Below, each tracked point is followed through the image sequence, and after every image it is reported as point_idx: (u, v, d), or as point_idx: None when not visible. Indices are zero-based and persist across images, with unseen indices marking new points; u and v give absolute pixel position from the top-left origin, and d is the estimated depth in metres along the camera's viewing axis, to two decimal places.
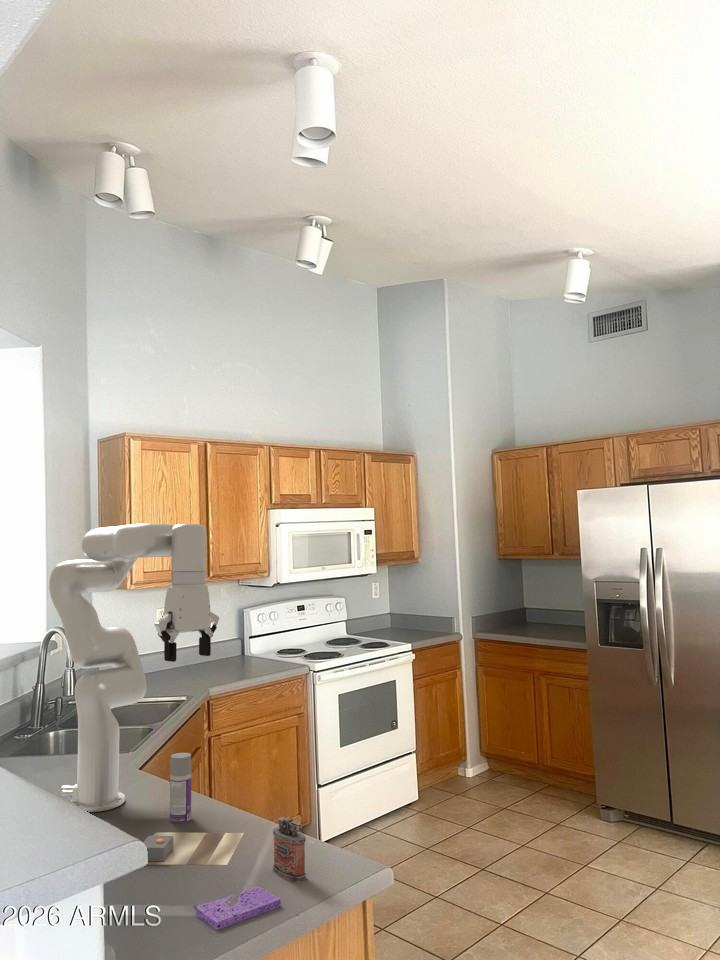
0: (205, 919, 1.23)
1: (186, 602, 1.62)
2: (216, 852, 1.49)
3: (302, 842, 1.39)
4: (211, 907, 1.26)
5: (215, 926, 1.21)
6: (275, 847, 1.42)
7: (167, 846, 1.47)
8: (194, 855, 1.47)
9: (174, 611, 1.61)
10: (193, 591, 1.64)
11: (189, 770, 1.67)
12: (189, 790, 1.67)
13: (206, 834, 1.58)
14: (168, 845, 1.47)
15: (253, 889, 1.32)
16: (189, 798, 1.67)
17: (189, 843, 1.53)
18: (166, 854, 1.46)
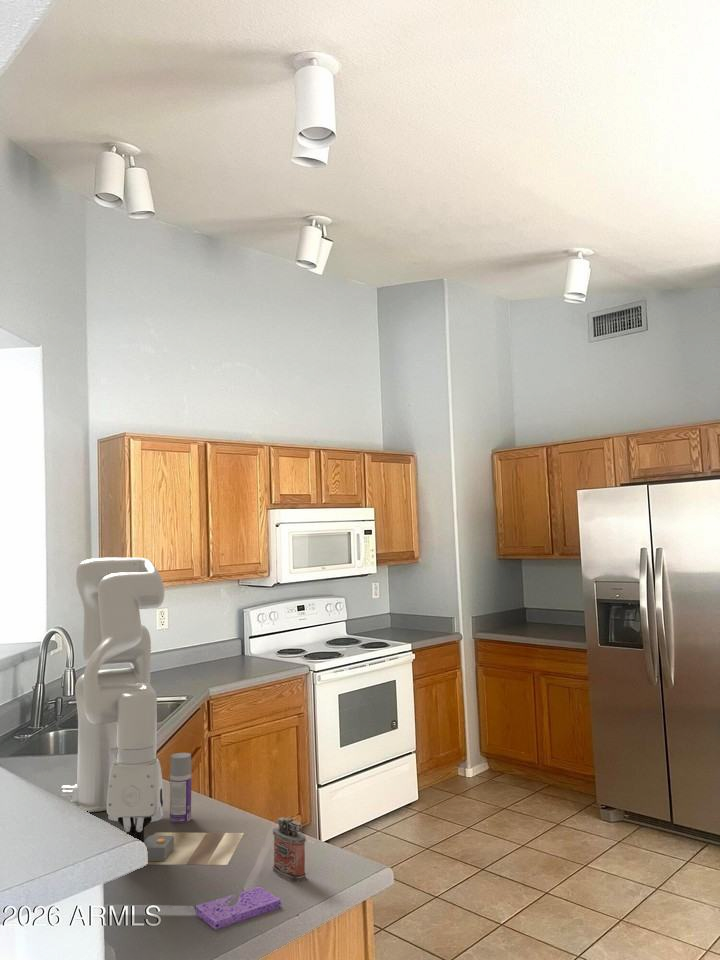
0: (204, 918, 1.24)
1: None
2: (216, 852, 1.49)
3: (302, 842, 1.39)
4: (211, 906, 1.26)
5: (213, 926, 1.21)
6: (275, 847, 1.42)
7: (168, 846, 1.47)
8: (194, 855, 1.47)
9: (162, 786, 1.50)
10: None
11: (189, 770, 1.67)
12: (189, 790, 1.67)
13: (206, 834, 1.58)
14: (169, 845, 1.47)
15: (254, 889, 1.32)
16: (189, 798, 1.67)
17: (189, 843, 1.53)
18: (167, 854, 1.46)
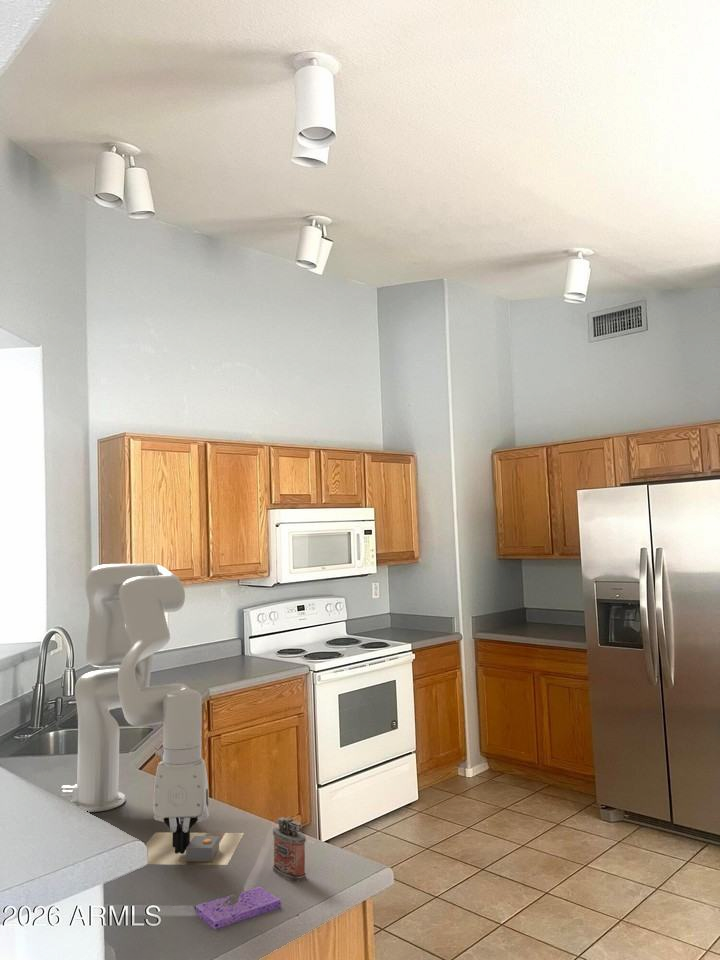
0: (204, 918, 1.24)
1: None
2: None
3: (302, 842, 1.39)
4: (211, 906, 1.26)
5: (213, 925, 1.21)
6: (275, 847, 1.42)
7: (214, 846, 1.46)
8: None
9: (207, 786, 1.49)
10: None
11: None
12: None
13: (206, 834, 1.58)
14: (215, 845, 1.47)
15: (255, 889, 1.32)
16: None
17: None
18: (213, 854, 1.45)
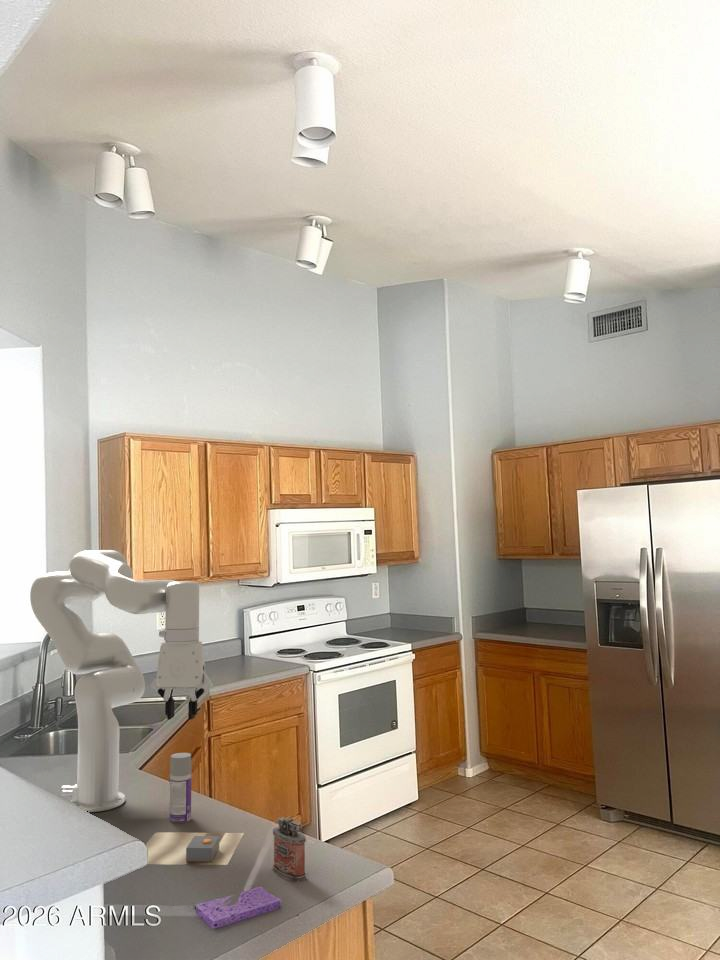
0: (203, 918, 1.24)
1: None
2: None
3: (302, 842, 1.39)
4: (211, 906, 1.26)
5: (212, 925, 1.21)
6: (275, 847, 1.42)
7: (214, 846, 1.46)
8: None
9: (204, 664, 1.71)
10: None
11: (189, 770, 1.67)
12: (189, 790, 1.67)
13: (206, 834, 1.58)
14: (215, 845, 1.47)
15: (255, 889, 1.32)
16: (189, 798, 1.67)
17: None
18: (213, 854, 1.45)
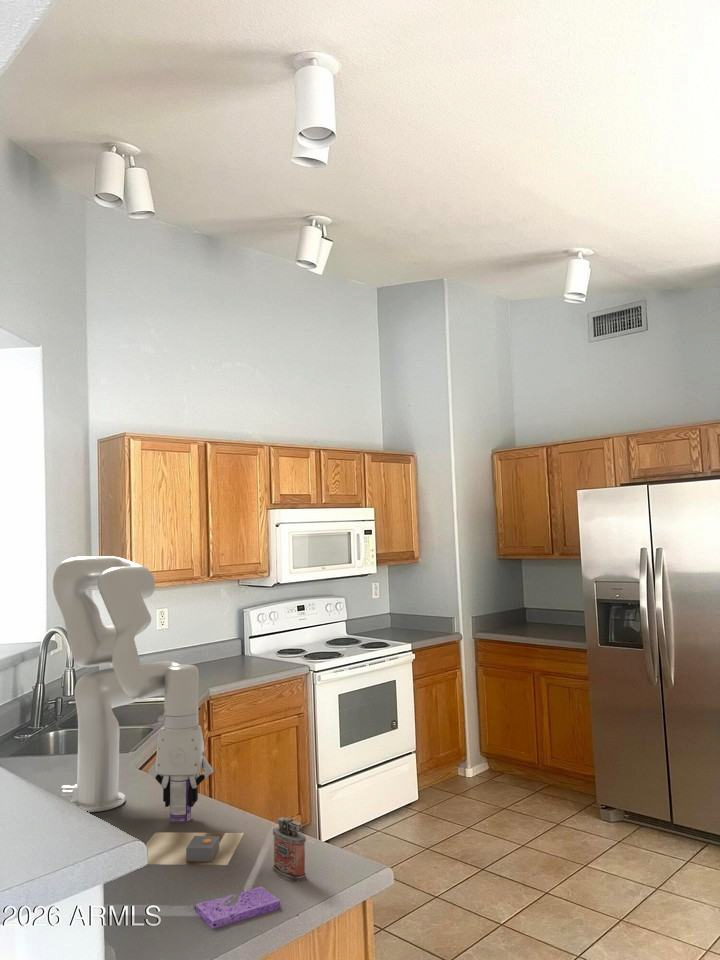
0: (203, 917, 1.24)
1: None
2: None
3: (302, 842, 1.39)
4: (210, 905, 1.26)
5: (211, 925, 1.21)
6: (275, 847, 1.42)
7: (214, 846, 1.46)
8: None
9: None
10: None
11: None
12: None
13: (206, 834, 1.58)
14: (215, 845, 1.47)
15: (256, 889, 1.32)
16: None
17: None
18: (213, 854, 1.45)
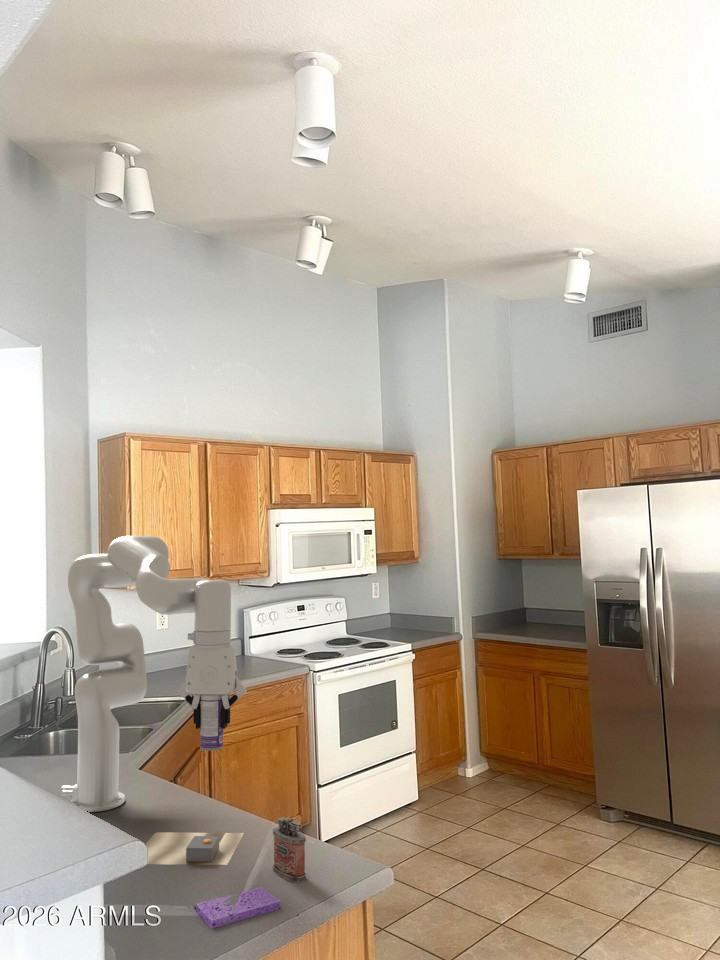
0: (203, 917, 1.24)
1: None
2: None
3: (302, 842, 1.39)
4: (210, 905, 1.26)
5: (210, 924, 1.22)
6: (275, 847, 1.42)
7: (214, 846, 1.46)
8: None
9: (236, 669, 1.59)
10: None
11: None
12: None
13: (206, 834, 1.58)
14: (215, 845, 1.47)
15: (256, 889, 1.32)
16: None
17: None
18: (213, 854, 1.45)
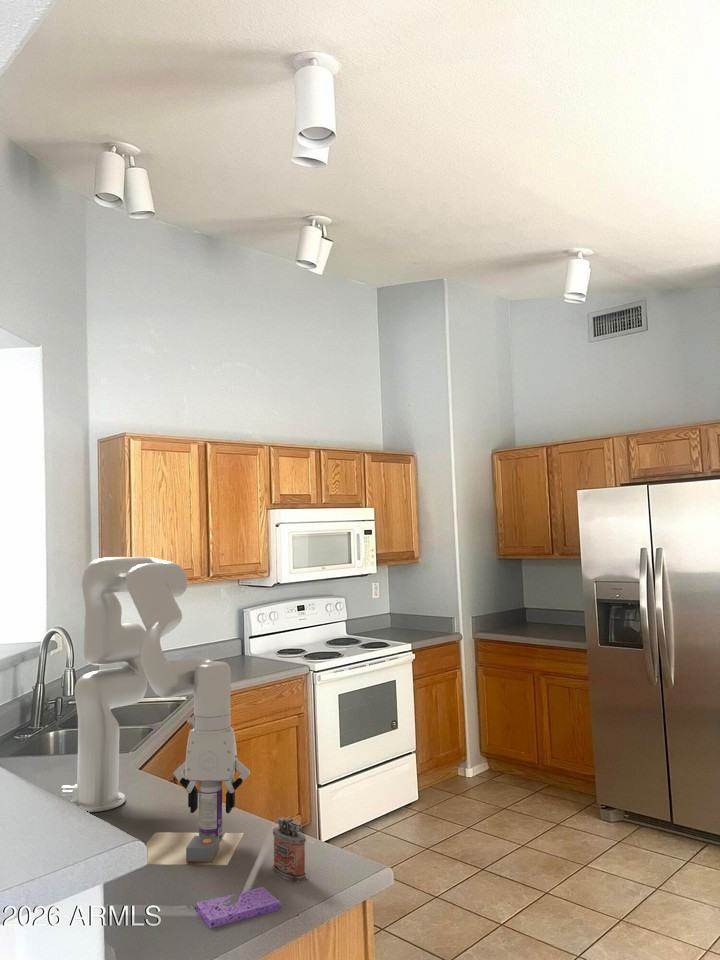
0: (202, 916, 1.24)
1: None
2: None
3: (302, 842, 1.39)
4: (210, 904, 1.27)
5: (209, 924, 1.22)
6: (275, 847, 1.42)
7: (214, 846, 1.46)
8: None
9: (236, 752, 1.57)
10: None
11: (220, 781, 1.55)
12: (220, 802, 1.55)
13: None
14: (215, 845, 1.47)
15: (257, 889, 1.32)
16: (220, 811, 1.55)
17: None
18: (213, 854, 1.45)
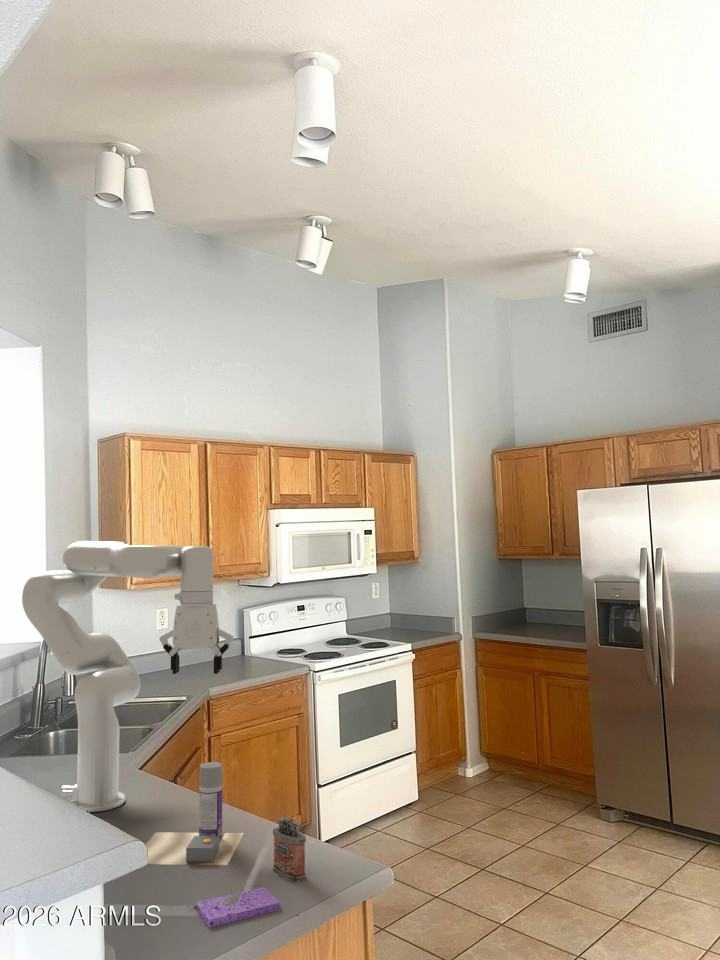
0: (202, 915, 1.25)
1: None
2: None
3: (302, 842, 1.39)
4: (210, 904, 1.27)
5: (208, 923, 1.22)
6: (275, 847, 1.42)
7: (214, 846, 1.46)
8: None
9: (218, 626, 1.77)
10: None
11: (220, 781, 1.55)
12: (220, 803, 1.55)
13: None
14: (215, 845, 1.47)
15: (258, 889, 1.32)
16: (220, 811, 1.55)
17: None
18: (213, 854, 1.45)
